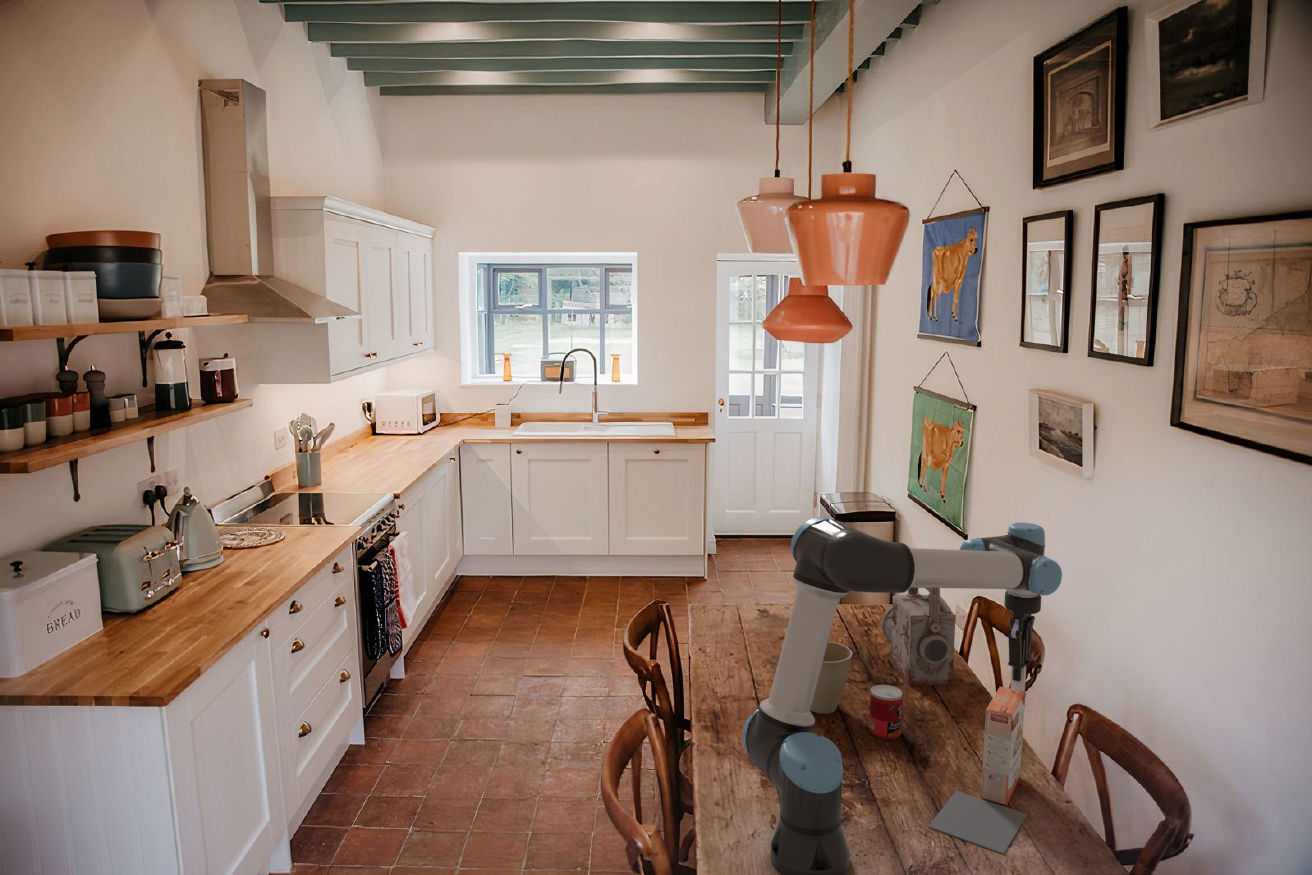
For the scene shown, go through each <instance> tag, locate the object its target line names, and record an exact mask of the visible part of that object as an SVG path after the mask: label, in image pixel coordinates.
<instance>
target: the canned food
mask: <svg viewBox="0 0 1312 875" xmlns="http://www.w3.org/2000/svg"><path fill="white" fill-rule="evenodd" d="M869 693H870V695H869V730H870V734H872V735H873V736H874V735H875V737H876V736H877V737H876V738H879V739H882V740H883V739H884V740H895V739H898V738H900V736H901V734H902V729H903V728H902V726H903V724H902V723H903V700H904V699H903V697H904V696H903V691H902V690H901V689H900V688H898V687H896V686H893V685H888V684H877V685H873V686H871V688H870V692H869Z"/></svg>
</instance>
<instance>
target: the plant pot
mask: <svg viewBox="0 0 1312 875" xmlns="http://www.w3.org/2000/svg"><path fill="white" fill-rule="evenodd" d="M852 658H853V650H851V649H850V648H849V647H847V646H846V645H844V644H842V643H838V642H833V641H828V644H827V647H826V651H825V655H824V659H823V663H822V667H821V670H820V674H819V678H818V682H817V686H816V690H815V693H814V697H813V701H812V705H811V709H810V711H811V712H813V713H817V714H824V715H827V714H832V713H834V712H836V710H837V708H838V705H839V704H840V701H841V698H842V696H843V694H844V690H845V689H846V688H845V687H846V684H847V680H848V676H849V673H850V668H851V664H852Z"/></svg>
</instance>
